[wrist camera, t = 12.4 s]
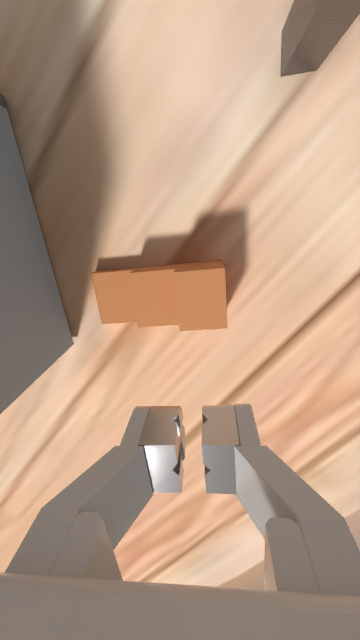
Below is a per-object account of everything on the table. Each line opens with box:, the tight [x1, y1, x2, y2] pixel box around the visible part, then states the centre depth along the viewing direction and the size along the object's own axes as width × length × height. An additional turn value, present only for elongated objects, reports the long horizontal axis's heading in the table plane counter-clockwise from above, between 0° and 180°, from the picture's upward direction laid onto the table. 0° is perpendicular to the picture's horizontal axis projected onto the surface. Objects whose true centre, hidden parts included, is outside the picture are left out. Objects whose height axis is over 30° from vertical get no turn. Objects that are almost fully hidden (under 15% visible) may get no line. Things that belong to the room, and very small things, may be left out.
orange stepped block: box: [91, 260, 227, 331], centre depth 23 cm, size 12×5×4 cm, turn 96°
